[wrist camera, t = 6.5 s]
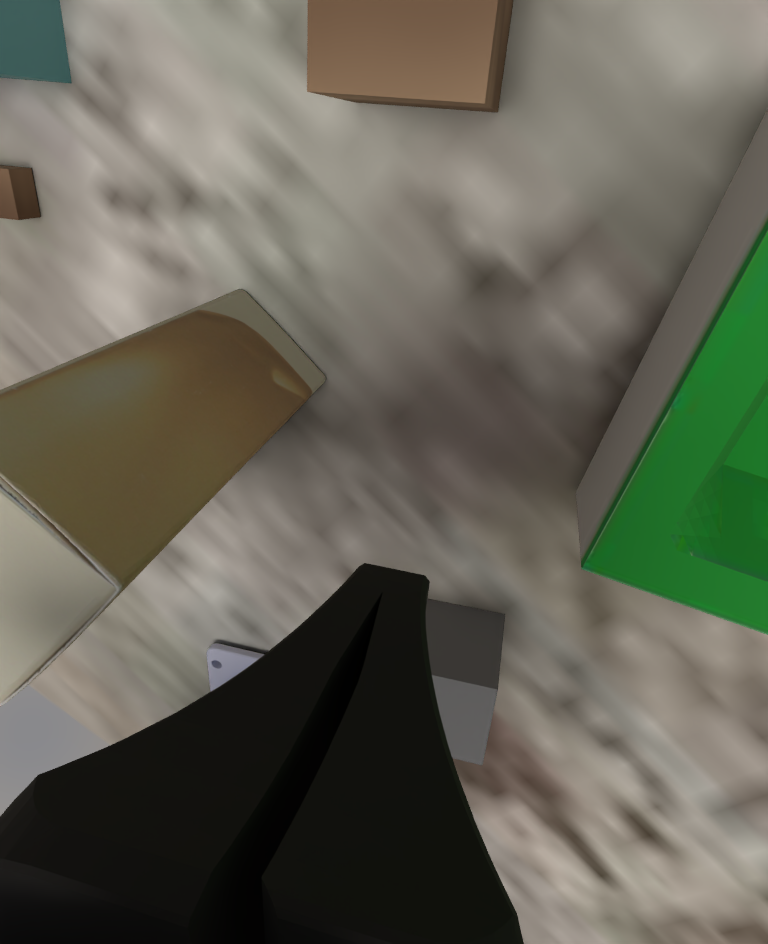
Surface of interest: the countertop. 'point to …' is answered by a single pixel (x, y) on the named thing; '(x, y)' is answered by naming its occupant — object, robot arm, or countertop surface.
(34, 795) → the robot arm
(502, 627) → the charcoal block
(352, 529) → the countertop surface
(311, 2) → the walnut block
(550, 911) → the countertop surface
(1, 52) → the teal block
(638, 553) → the tray
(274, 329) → the skincare box
